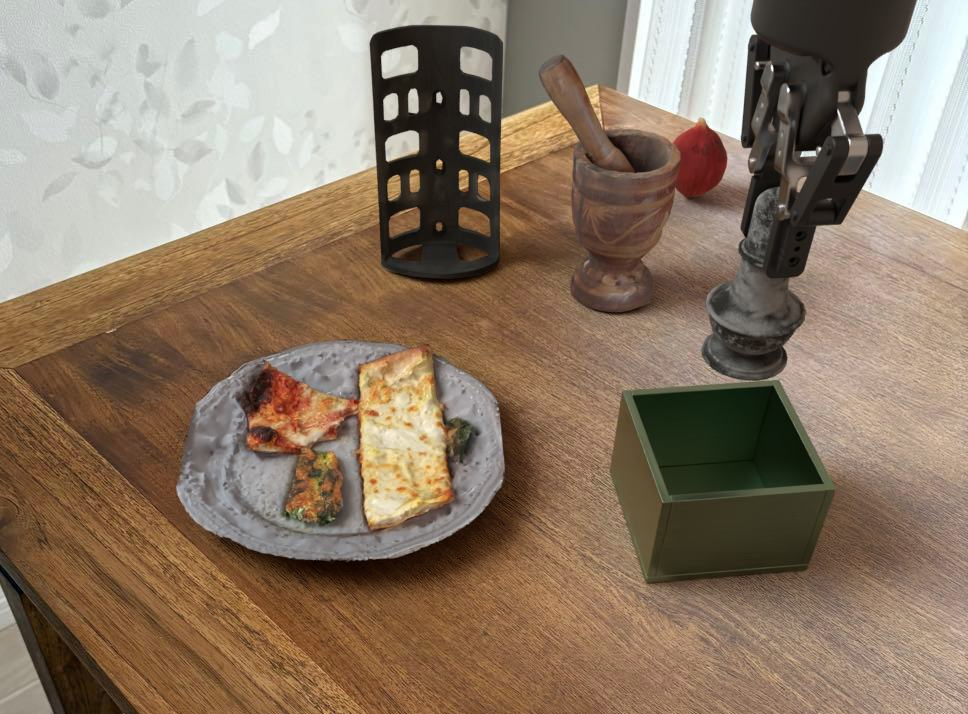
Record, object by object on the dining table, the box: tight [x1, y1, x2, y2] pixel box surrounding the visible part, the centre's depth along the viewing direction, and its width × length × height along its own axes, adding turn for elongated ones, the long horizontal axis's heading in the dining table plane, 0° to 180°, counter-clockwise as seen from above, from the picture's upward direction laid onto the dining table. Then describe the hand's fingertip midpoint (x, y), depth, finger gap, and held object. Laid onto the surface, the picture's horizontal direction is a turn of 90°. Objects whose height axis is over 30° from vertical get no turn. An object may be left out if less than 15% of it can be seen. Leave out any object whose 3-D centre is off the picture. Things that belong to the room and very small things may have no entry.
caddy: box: [609, 379, 837, 584], centre depth 76 cm, size 11×11×8 cm
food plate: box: [175, 338, 506, 563], centre depth 82 cm, size 25×23×4 cm
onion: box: [672, 117, 728, 199], centre depth 107 cm, size 6×6×8 cm
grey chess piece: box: [700, 187, 807, 382], centre depth 65 cm, size 6×6×12 cm
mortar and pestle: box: [537, 53, 681, 313], centre depth 91 cm, size 12×9×20 cm
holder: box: [369, 24, 504, 280], centre depth 96 cm, size 11×8×20 cm
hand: (770, 252), depth 64 cm, fingers closed on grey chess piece, 3 cm apart
